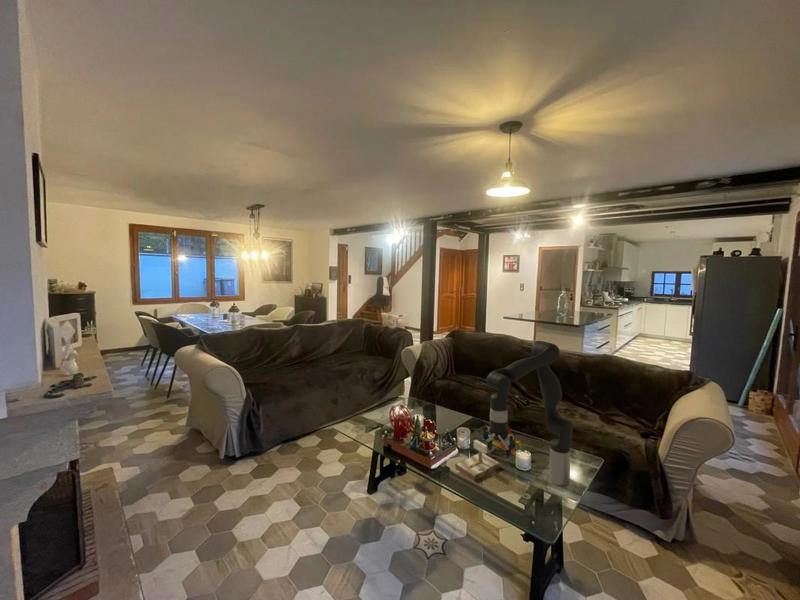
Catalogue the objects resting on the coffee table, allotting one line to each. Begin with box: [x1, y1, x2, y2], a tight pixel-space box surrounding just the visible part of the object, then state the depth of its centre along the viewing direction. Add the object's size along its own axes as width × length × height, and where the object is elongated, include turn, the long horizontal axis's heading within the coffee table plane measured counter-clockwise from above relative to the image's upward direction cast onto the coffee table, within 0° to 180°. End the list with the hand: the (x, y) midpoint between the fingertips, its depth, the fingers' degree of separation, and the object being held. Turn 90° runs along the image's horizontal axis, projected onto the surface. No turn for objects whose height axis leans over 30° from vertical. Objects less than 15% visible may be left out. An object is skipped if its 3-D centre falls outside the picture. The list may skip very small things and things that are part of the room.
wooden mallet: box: [468, 439, 488, 467], centre depth 189 cm, size 10×8×10 cm
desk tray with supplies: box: [454, 452, 501, 482], centre depth 190 cm, size 20×14×3 cm
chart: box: [482, 425, 525, 456], centre depth 208 cm, size 30×3×15 cm, turn 37°
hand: (498, 452), depth 155 cm, fingers open, 8 cm apart
